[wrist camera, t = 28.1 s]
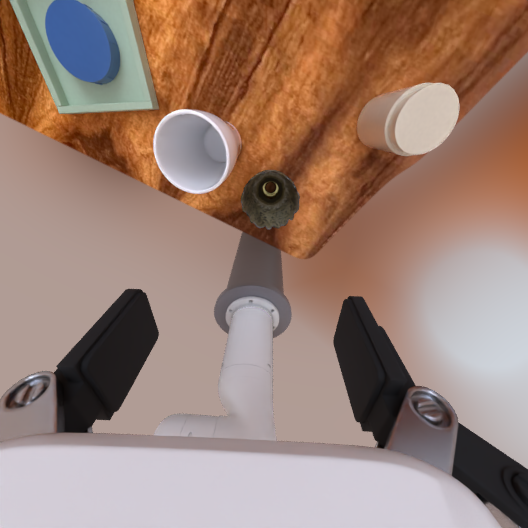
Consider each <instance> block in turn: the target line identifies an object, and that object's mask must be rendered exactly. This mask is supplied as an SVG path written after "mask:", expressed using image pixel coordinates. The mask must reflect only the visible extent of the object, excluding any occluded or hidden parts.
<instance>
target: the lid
mask: <svg viewBox="0 0 528 528" xmlns="http://www.w3.org/2000/svg"><path fill="white" fill-rule="evenodd" d="M45 29H46V34H47V38H48V41H49V44H50V46H51V49H52V51H53V53H54V54H55V56H56V58H57V59H58V61H59V62H60V63H61V64H62V66H63V67H64V68H65V69H66V70H67V71H68V72H69V73H71V74H72V75H73V76H75V77H76V78H78V79H80V80H83V81H86V82H90V83H95V84H99V85H103V84H107V83H109V82H111V81H112V80H114V78H115V77H116V76H117V74H118V71H119V67H120V52H119V47H118V44H117V41H116V39H115V36H114V34H113V32H112V30H111V29H110V27H109V26H108V24H107V23H106V22H105V20H104V19H103V18H102V17H101V16H100V15H99V14H97V13H96V12H95V11H93V9H92V8H90V7H89V6H87V5H85V4H82V3H80V2H79V1H77V0H55V1H53V2H52V3H51V4H50V6H49V7H48V9H47V12H46V17H45Z"/></svg>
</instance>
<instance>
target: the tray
mask: <svg viewBox="0 0 528 528" xmlns="http://www.w3.org/2000/svg"><path fill="white" fill-rule="evenodd" d="M53 1H55V0H10V3H11V5H12V7H13V9H14V12H15V14H16V16H17V18H18V21H19V23H20V25H21V28H22V30H23V32H24V34H25V37H26V39H27V41H28V43H29V46H30V48H31V50H32V52H33V55H34V57H35V59H36V62H37V64H38V66H39V68H40V71H41V73H42V75H43V77H44V80H45V82H46V84H47V86H48V89H49V91H50V93H51V96H52V98H53V100H54V102H55V105H56V106H57V109H58V111H59V113H60V114H84V113H103V112H122V111H141V110H159V106H158V102H157V98H156V93H155V89H154V85H153V81H152V77H151V73H150V68H149V64H148V60H147V56H146V52H145V48H144V43H143V39H142V35H141V31H140V27H139V23H138V19H137V14H136V10H135V6H134V2H133V0H77V1H79V2H80V3H82V4H85V5H87V6H89V7H90V8H92V9H93V11H95V12H96V13H97V14H99V15H100V16H101V17H102V18H103V19H104V20H105V22H106V23H107V24H108V26H109V27H110V29H111V30H112V32H113V34H114V36H115V39H116V41H117V44H118V47H119V52H120V67H119V71H118V74H117V76H116V77H115V78H114V80H112V81H111V82H109V83H107V84H103V85H99V84H95V83H90V82H86V81H83V80H80V79H78V78H76V77H75V76H73V75H72V74H71V73H69V72H68V71H67V70H66V69H65V68H64V67H63V66H62V64H61V63H60V62H59V61H58V59H57V58H56V56H55V54H54V53H53V51H52V49H51V46H50V44H49V41H48V38H47V34H46V29H45V17H46V12H47V9H48V7H49V6H50V4H51V3H52V2H53Z"/></svg>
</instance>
